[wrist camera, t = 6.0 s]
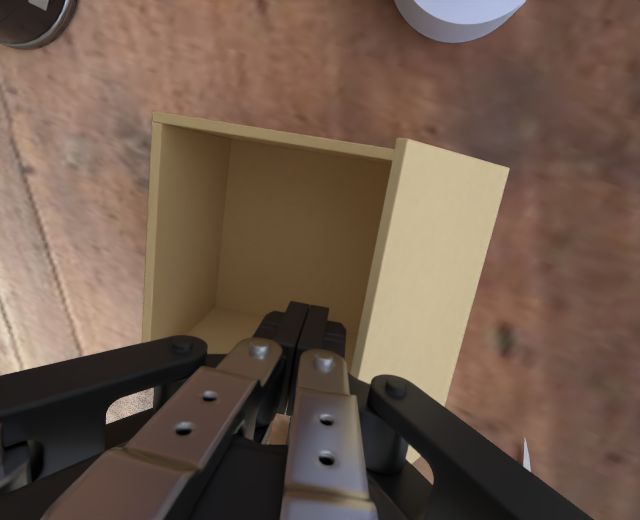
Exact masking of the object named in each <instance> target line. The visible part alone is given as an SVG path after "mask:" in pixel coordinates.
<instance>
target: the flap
mask: <svg viewBox="0 0 640 520" xmlns="http://www.w3.org/2000/svg"><path fill="white" fill-rule="evenodd" d="M508 173H509V168H508V167H504V166H501V165H497V164H494V163H490V162H487V161H483V160H480V159H476V158H473V157H470V156H466V155H463V154H459V153H456V152H452V151H449V150H445V149H442V148H438V147H435V146H432V145H428V144H425V143H421V142H418V141H414V140H411V139H406V138H397V140H396V145H395V150H394V155H393V160H392V165H391V170H390V175H389V180H388V185H387V190H386V195H385V200H384V205H383V210H382V215H381V220H380V225H379V230H378V235H377V240H376V245H375V250H374V255H373V260H372V265H371V270H370V275H369V280H368V285H367V290H366V295H365V300H364V305H363V310H362V315H361V320H360V325H359V330H358V335H357V340H356V345H355V350H354V355H353V360H352V365H351V370H350V374H351V375H352V376H354V377H355V378H357V379H359V380H361V381H363V382H366V383H369V384H371V380H372V379H373V378H374V377H375V376H378V375H382V374H388V375H395V376H399V377H402V378H404V379H407V380H408V381H410V382H412V383H413V384H415V385H416V386H417V387H419V388H420V389H421V390H423V391H424V392H425V393H426V394H428V395H429V396H430V397H432V398H433V399H434V400H436V401H437V402H438V403H440V404H441V405H442V406H444V405H445V402H446V398H447V395H448V391H449V387H450V384H451V380H452V376H453V373H454V369H455V365H456V362H457V358H458V355H459V351H460V347H461V344H462V340H463V336H464V333H465V329H466V325H467V322H468V318H469V314H470V311H471V307H472V304H473V300H474V296H475V293H476V289H477V285H478V282H479V278H480V274H481V271H482V267H483V264H484V260H485V256H486V253H487V249H488V245H489V242H490V238H491V234H492V231H493V227H494V224H495V220H496V216H497V213H498V209H499V205H500V202H501V198H502V194H503V191H504V187H505V183H506V180H507V176H508ZM420 456H421V455H420V454H419V453H418V452H417V451H416V450H415V449H413V448H412V447H411V446H410V445H409V447H408V451H407V455H406V460H407V461H408V462H409V463H410V464H412V463H413V462H414V461H415V460H417V459H418V458H419V457H420Z"/></svg>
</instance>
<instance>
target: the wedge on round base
mask: <svg viewBox="0 0 640 520" xmlns="http://www.w3.org/2000/svg"><path fill="white" fill-rule="evenodd" d="M525 1H526V0H394V2H395V4H396V6H397V8H398V10H399V12H400V13H401V15H402V16H403V18H404V19H405V20H406V21H407V23H408V24H409V25H410V26H411V27H412V28H414V29H415V30H416V31H417V32H419V33H421V34H422V35H424V36H426V37H428V38H430V39H433V40H436V41H440V42H447V43H461V42H467V41H472V40H475V39H477V38H480V37H483V36H485V35H487V34H489V33H490V32H492V31H494V30H495V29H497V28H498V27H499V26H501V25H502V24H503V23H504V22H505V21H506V20H508V19H509V18H510V17H511V16H512V15H513V14H514V13H515V12H516V11H517V10H518V9H519V8H520V7H521V6H522V5H523V4H524V3H525Z"/></svg>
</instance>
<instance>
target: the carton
mask: <svg viewBox="0 0 640 520" xmlns="http://www.w3.org/2000/svg"><path fill="white" fill-rule="evenodd" d="M152 121H153V122H152V135H151V156H150V177H149V197H148V218H147V239H146V260H145V281H144V302H143V323H142V343H144V342H149V341H153V340H157V339H162V338H166V337H170V336H176V335H189V336H194V337H198V338H200V339H202V340H204V341H205V342H206V343H207V345H208V350H207V354H228V353H229V352H230V351H231V350H232V349H233V348H234V346H235V345H236V344H237V343H238V342H239V341H241V340H243V339H246V338H252V336H253V335H254V333H255V331H256V330H257V328H258V327H259V325H260V323H261V322H262V320H263V318H264V317H265V315H266V314H268V313H270V312H272V311H274V310H275V311H280V312H285V311H286V309H287V307H288V305H289V303H290V301H295V302H300V303H306V304H310V305H317V306H322V307H328V308H329V314H328V319H327V320H329V321H334V322H339V323H342V324H343V326H344V327H345V328H346V346H345V361H346V363H347V371H348V372H349V373H350V370H351V365H352V360H353V355H354V350H355V345H356V340H357V335H358V330H359V325H360V320H361V315H362V310H363V305H364V300H365V295H366V290H367V285H368V280H369V275H370V270H371V265H372V260H373V255H374V250H375V245H376V240H377V235H378V230H379V225H380V220H381V215H382V210H383V205H384V200H385V195H386V190H387V185H388V180H389V175H390V170H391V165H392V160H393V155H394V150H395V149H389V148H383V147H377V146H370V145H364V144H358V143H352V142H346V141H339V140H333V139H327V138H321V137H315V136H308V135H302V134H296V133H290V132H283V131H277V130H271V129H265V128H259V127H252V126H246V125H240V124H234V123H228V122H221V121H215V120H209V119H203V118H197V117H190V116H184V115H178V114H172V113H165V112H159V111H153V114H152ZM310 305H309V308H310ZM287 406H288V403H287Z"/></svg>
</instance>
